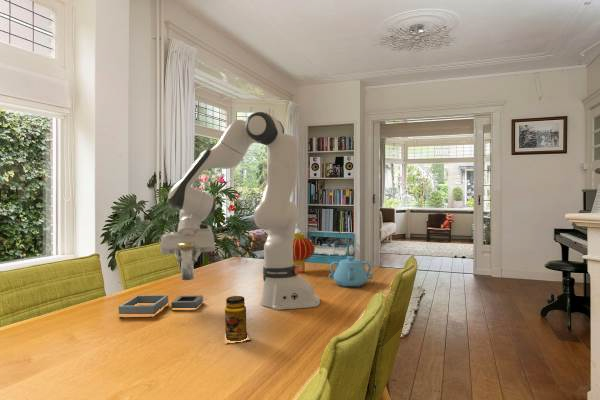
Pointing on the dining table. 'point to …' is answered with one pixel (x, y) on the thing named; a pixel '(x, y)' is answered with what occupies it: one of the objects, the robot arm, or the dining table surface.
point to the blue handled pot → (350, 272)
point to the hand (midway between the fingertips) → (186, 260)
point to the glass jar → (187, 260)
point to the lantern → (302, 249)
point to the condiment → (235, 319)
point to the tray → (143, 309)
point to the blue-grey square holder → (187, 301)
